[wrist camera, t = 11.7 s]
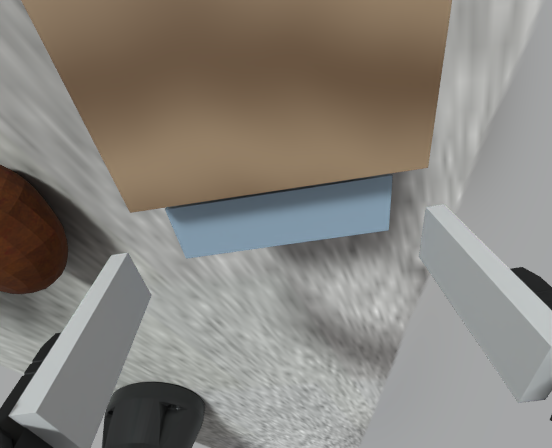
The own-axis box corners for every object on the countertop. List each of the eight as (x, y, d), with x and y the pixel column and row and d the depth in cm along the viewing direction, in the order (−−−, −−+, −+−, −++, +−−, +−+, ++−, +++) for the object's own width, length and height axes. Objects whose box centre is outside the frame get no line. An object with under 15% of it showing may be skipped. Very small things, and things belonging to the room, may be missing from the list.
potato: (33, 143, 25) (-50, 189, 18) (110, 248, 31) (68, 310, 25) (-46, 165, 26) (-152, 217, 19) (45, 263, 32) (-12, 326, 26)
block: (341, 158, 26) (387, 244, 16) (218, 177, 27) (191, 271, 17) (340, 109, 24) (392, 175, 14) (205, 131, 25) (165, 209, 15)
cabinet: (348, 164, 27) (412, 277, 15) (215, 184, 27) (179, 307, 16) (344, -46, 19) (472, -143, 7) (157, -9, 19) (-1, -43, 8)
